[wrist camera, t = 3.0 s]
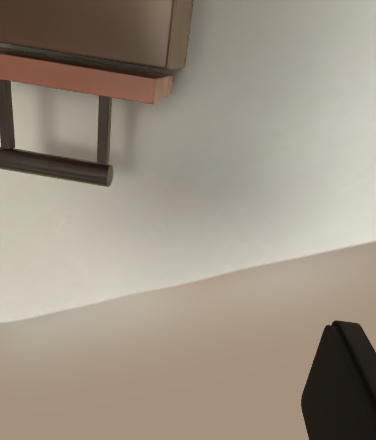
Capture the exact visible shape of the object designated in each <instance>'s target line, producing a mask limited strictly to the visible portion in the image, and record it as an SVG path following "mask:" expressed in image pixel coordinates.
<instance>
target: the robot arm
mask: <svg viewBox="0 0 376 440" xmlns="http://www.w3.org/2000/svg"><path fill="white" fill-rule="evenodd" d="M301 407H302V412H303V417H304V421H305V425H306V429H307V433H308V437H309V440H376V352H375V350H374V349H373V347H372V345H371V343H370V341H369V340H368V338H367V336H366V334H365V333H364V331H363V329H362V327H361V326H360V325H359V324H358V323H351V322H344V321H334V322H333V323H332V325H331V326H330V325H327V326H326V327H325V329H324V331H323V334H322V337H321V340H320V343H319V346H318V349H317V352H316V355H315V358H314V361H313V364H312V367H311V370H310V373H309V376H308V379H307V382H306V385H305V388H304V391H303V394H302V399H301Z"/></svg>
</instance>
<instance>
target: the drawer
mask: <svg viewBox="0 0 376 440" xmlns="http://www.w3.org/2000/svg"><path fill="white" fill-rule="evenodd" d="M10 81H14V82H20V83H26V84H32V85H38V86H45V87H51V88H57V89H63V90H69V91H75V92H81V93H87V94H94V95H99V116H98V147H97V162H92V161H86V160H80V159H74V158H68V157H62V156H56V155H50V154H43V153H37V152H31V151H25V150H19V149H13V148H15V138H14V124H13V110H12V96H11V82H10ZM172 82H173V75H170V74H163V73H157V72H151V71H145V70H139V69H132V68H126V67H120V66H114V65H108V64H102V63H95V62H89V61H83V60H77V59H71V58H64V57H58V56H52V55H46V54H40V53H33V52H27V51H21V50H15V49H9V48H3V47H0V138H1V147H0V169H4V170H10V171H16V172H22V173H28V174H34V175H40V176H46V177H52V178H58V179H64V180H70V181H76V182H82V183H88V184H94V185H100V186H106V187H109V186H110V185H111V182H112V179H113V166H112V165H110V164H108V163H109V150H110V128H111V107H112V98H118V99H124V100H130V101H136V102H143V103H149V104H154V103H156V102H157V101H159V100H161V99H163V98H164V97H166V96H168V95H170V94H171V91H172Z"/></svg>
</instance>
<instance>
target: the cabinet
mask: <svg viewBox="0 0 376 440" xmlns="http://www.w3.org/2000/svg"><path fill="white" fill-rule="evenodd" d="M192 7H193V0H0V43H6V44H12V45H18V46H24V47H31V48H37V49H43V50H49V51H55V52H62V53H68V54H74V55H80V56H86V57H93V58H99V59H105V60H111V61H117V62H123V63H130V64H136V65H142V66H148V67H154V68H161V69H178V68H185V61H186V53H187V46H188V38H189V30H190V22H191V15H192Z"/></svg>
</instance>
